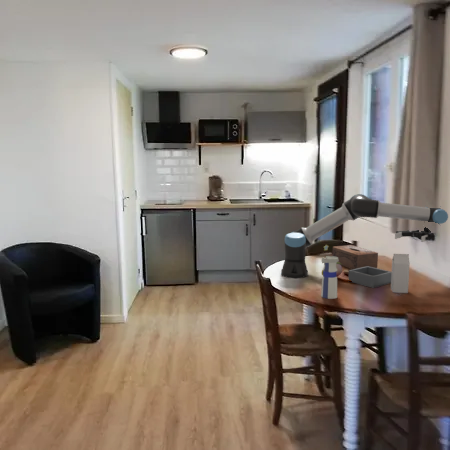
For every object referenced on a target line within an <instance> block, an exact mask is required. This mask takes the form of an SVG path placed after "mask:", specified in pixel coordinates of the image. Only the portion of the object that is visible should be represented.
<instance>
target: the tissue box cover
mask: <svg viewBox="0 0 450 450" xmlns="http://www.w3.org/2000/svg"><path fill="white" fill-rule="evenodd" d="M331 256H335V257H338V259H339V261H338V262H339V263H341V264H342V265H341V264H340V265H341V266H342V267H345V268H348V269H349V270H353V269H357V268H362V267H366V266H369V267H373V268H378V261H379V259H378V258H379V252H377V251H372V250H369V249H366V248H362V247H359V246H356V245H353V244H348V245H337V246H332V255H331Z"/></svg>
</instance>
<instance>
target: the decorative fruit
mask: <svg viewBox="0 0 450 450" xmlns="http://www.w3.org/2000/svg"><path fill="white" fill-rule="evenodd" d="M340 264H341V263H339V262H337V263H336V268H337V271H336V277H337V278H338V277H339V276H340V275H341V274H342V273H343V266H342V264H341V265H340Z"/></svg>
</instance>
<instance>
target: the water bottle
mask: <svg viewBox="0 0 450 450" xmlns="http://www.w3.org/2000/svg"><path fill="white" fill-rule="evenodd" d="M329 247H330V246H329V245H328V244H325V246H323V248H324V249H323V251H328V248H329ZM338 261H339V259H338V257H335V256H332V255H326V256H325V257H321V264H323V267H322V269H321V275H322V278H321V291H320V296H321V298H323V299H329V300H333V299H337V298H338V277H336V271H337V268H336V263H337V262H338Z"/></svg>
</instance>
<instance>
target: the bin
mask: <svg viewBox="0 0 450 450" xmlns="http://www.w3.org/2000/svg"><path fill="white" fill-rule="evenodd" d="M391 273H392V270H391V271H389V270H385V269H382V268H378V267H377V268H373V267H369V266H366V267H362V268H357V269H349V270H348V279H349V280H351V281H352V282H351V283H353V284H358V285H361V286H365V287H368V288H372V289H374V288H378V287H382V286H385V285H389V284H390V285H391ZM348 279H347V280H348Z"/></svg>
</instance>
